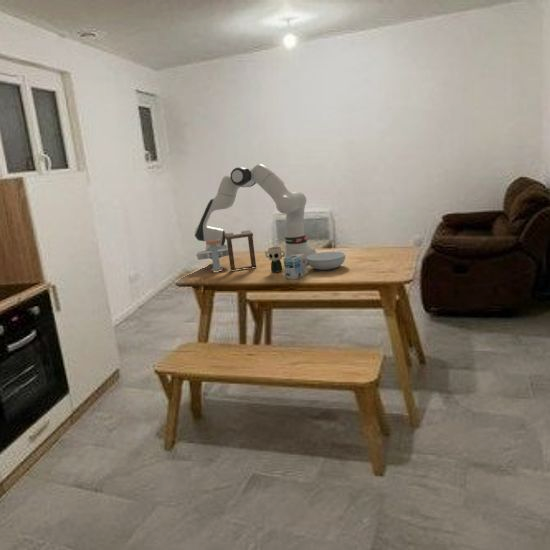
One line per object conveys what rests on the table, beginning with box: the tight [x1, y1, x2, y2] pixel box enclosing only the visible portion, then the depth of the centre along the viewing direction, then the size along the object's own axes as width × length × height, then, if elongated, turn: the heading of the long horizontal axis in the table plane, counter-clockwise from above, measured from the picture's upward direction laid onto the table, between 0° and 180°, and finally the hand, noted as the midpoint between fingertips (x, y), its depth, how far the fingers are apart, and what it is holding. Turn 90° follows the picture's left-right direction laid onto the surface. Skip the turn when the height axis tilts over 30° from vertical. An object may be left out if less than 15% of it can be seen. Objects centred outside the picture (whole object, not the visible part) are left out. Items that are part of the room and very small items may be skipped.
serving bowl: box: [306, 251, 346, 271], centre depth 260 cm, size 21×21×7 cm
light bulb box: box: [282, 254, 308, 280], centre depth 249 cm, size 11×7×11 cm, turn 143°
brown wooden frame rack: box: [224, 229, 257, 271], centre depth 281 cm, size 14×15×20 cm
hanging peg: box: [205, 239, 224, 272], centre depth 280 cm, size 8×8×18 cm
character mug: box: [264, 246, 285, 273], centre depth 264 cm, size 11×7×13 cm, turn 73°
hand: (215, 256), depth 279 cm, fingers open, 4 cm apart
